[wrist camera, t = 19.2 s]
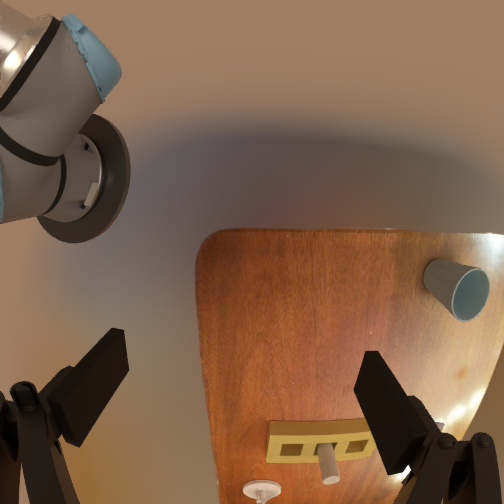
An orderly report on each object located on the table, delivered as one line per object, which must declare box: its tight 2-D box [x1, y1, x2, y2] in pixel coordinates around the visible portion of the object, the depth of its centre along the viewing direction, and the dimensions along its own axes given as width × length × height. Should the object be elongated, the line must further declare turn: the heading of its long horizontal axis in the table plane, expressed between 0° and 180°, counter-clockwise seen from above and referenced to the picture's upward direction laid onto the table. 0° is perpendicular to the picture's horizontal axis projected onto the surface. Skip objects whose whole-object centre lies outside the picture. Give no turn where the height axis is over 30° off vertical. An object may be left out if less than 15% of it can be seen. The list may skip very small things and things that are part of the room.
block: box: [265, 418, 376, 463], centre depth 46 cm, size 9×22×4 cm, turn 86°
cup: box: [423, 259, 490, 322], centre depth 35 cm, size 8×8×10 cm
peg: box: [316, 443, 340, 485], centre depth 42 cm, size 3×3×12 cm
